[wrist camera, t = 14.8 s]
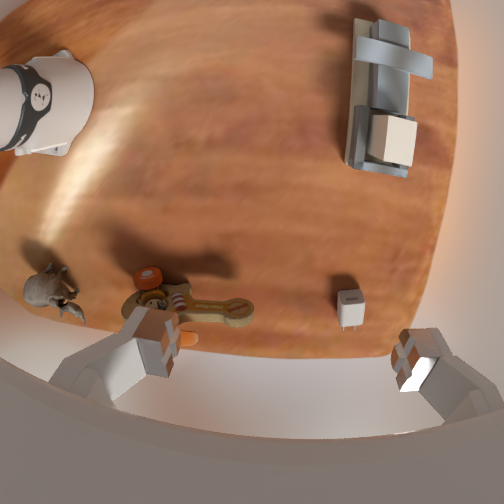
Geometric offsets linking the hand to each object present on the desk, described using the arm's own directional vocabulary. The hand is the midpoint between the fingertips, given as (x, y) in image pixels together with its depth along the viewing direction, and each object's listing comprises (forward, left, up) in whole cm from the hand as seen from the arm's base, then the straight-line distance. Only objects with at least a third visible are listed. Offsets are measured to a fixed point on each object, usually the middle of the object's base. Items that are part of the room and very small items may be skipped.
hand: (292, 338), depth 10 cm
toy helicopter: (-14, -20, -31) cm, 40 cm away
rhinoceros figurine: (-42, -23, -31) cm, 57 cm away
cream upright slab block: (+12, +7, -30) cm, 33 cm away
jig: (+12, +12, -31) cm, 35 cm away
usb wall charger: (+13, -21, -31) cm, 40 cm away
